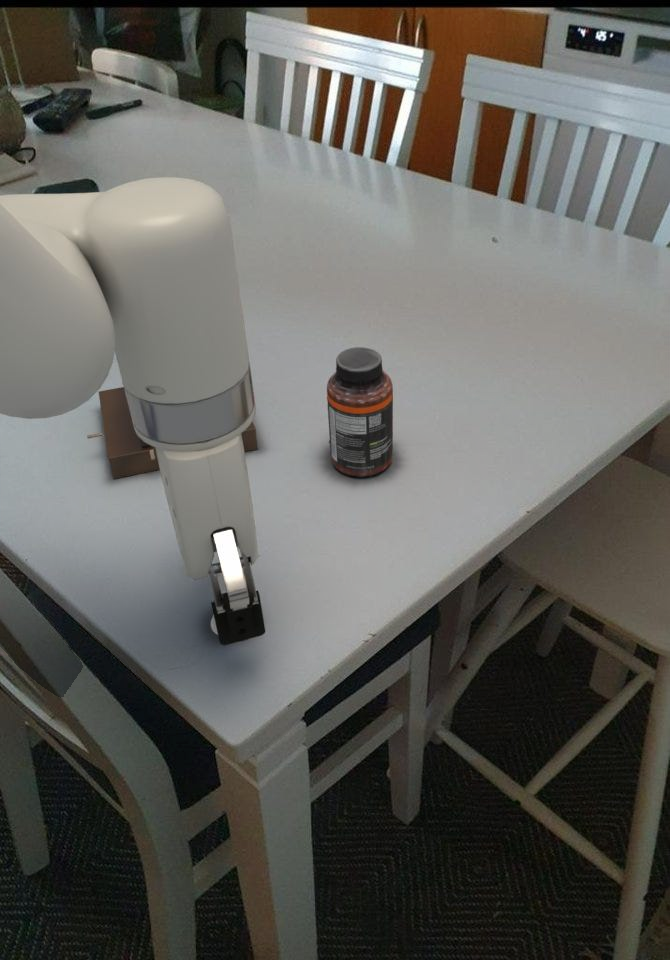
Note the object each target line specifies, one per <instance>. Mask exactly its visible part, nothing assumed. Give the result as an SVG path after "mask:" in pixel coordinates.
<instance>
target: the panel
mask: <svg viewBox="0 0 670 960" xmlns="http://www.w3.org/2000/svg"><path fill="white" fill-rule="evenodd" d="M98 397H99V405H100V412H101V420H102V427H103V432H98V433H92V434H87V435H86V438H87V439H88V440H89V439H93V438H98V437H99V438H100V437H102V436H103V433H104V441H105V447H106V454H107V455H106V456H107V460H108V464H109V468H110V472H111V475H112V479H113V480H117V479H121V478H125V477H131V476H135V475H140V474H144V473H149V472H154V471H160V468H159V463H158V459H157V454H156V448H155V447H153V446H148V447H143V448H142V445H141V441H140V438H139V436H138V435H137V434H136V432H135V429H134V426H133V422H132V417H131V413H130V409H129V405H128V402H127V398H126V394H125V390H124V386H120V387H115V388H110V389H105V390H98ZM241 435H242V441H243V447H244V453H246V452H251V451H256V450H258V449H259V446H258V438H257V429H256V426H255V424H254V420H253V421H252V422H251V424H250V425H249V426H248V427H247V429H246V430H245V431H244V432H242V433H241Z"/></svg>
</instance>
